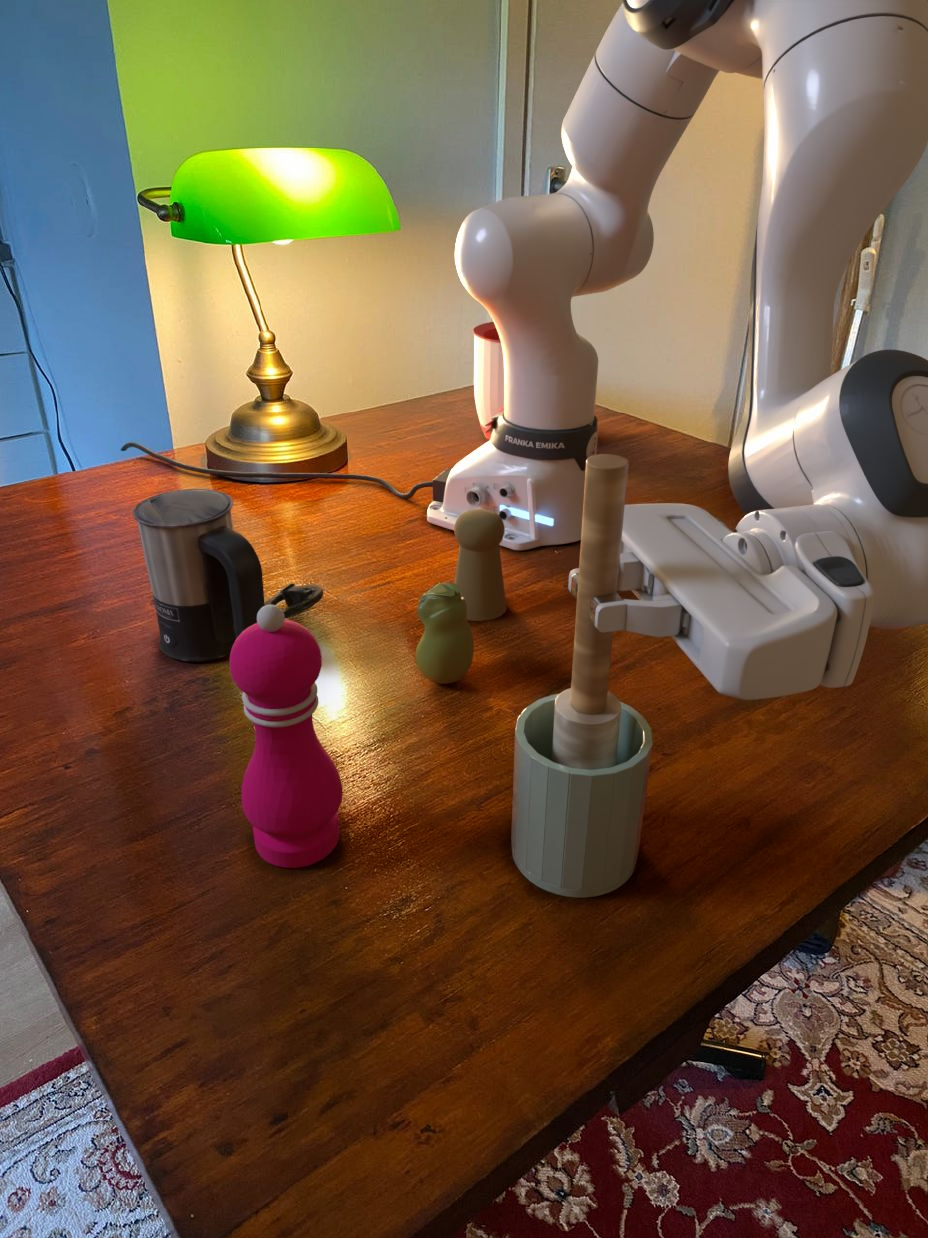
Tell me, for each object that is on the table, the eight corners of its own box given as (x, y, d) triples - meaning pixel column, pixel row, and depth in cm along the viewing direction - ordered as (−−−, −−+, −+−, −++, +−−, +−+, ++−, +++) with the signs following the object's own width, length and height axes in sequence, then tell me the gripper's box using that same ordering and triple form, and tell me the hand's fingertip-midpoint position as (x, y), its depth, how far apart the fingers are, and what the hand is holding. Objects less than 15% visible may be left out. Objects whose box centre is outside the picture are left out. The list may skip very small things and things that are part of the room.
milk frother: (138, 652, 91) (110, 516, 83) (229, 584, 103) (211, 460, 96) (261, 682, 86) (242, 540, 79) (340, 606, 99) (330, 478, 91)
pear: (451, 701, 83) (451, 606, 78) (404, 684, 86) (401, 591, 81) (483, 672, 88) (484, 581, 83) (437, 657, 90) (435, 567, 85)
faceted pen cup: (491, 871, 65) (493, 750, 60) (539, 794, 72) (545, 679, 67) (614, 915, 62) (628, 791, 56) (651, 830, 69) (668, 712, 63)
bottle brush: (541, 795, 63) (557, 466, 51) (563, 759, 66) (583, 443, 54) (601, 814, 61) (633, 479, 49) (621, 776, 65) (655, 454, 53)
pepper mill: (254, 808, 71) (220, 582, 61) (347, 803, 71) (328, 578, 61) (243, 877, 65) (202, 638, 55) (344, 871, 65) (323, 632, 55)
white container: (593, 433, 149) (603, 307, 139) (525, 460, 138) (530, 325, 128) (521, 413, 158) (525, 293, 148) (452, 437, 148) (451, 309, 138)
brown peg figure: (513, 599, 100) (516, 506, 95) (496, 625, 95) (499, 529, 90) (461, 590, 102) (461, 499, 97) (443, 615, 97) (441, 521, 92)
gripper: (715, 474, 66) (533, 491, 63) (893, 606, 49) (655, 638, 46) (703, 552, 69) (530, 572, 67) (867, 702, 52) (643, 738, 49)
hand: (582, 600), depth 56 cm, fingers closed on bottle brush, 2 cm apart
